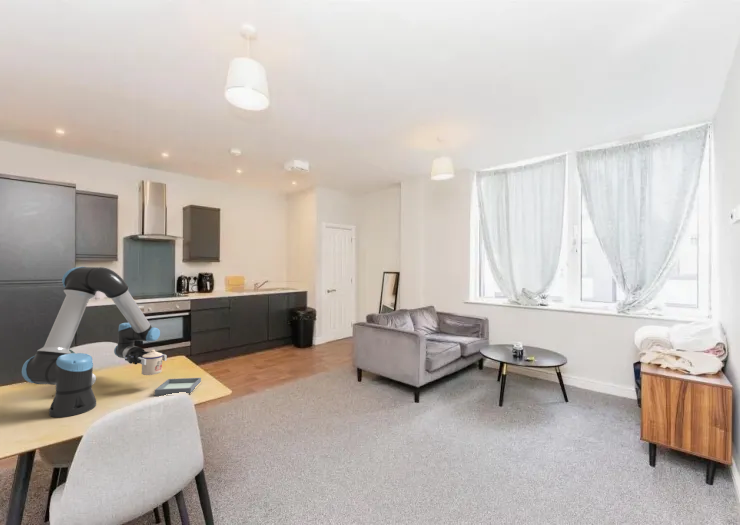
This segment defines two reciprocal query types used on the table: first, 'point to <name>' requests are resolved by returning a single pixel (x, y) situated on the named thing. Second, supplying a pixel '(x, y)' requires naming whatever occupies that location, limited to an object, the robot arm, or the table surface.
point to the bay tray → (177, 386)
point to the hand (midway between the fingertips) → (155, 359)
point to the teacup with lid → (152, 363)
